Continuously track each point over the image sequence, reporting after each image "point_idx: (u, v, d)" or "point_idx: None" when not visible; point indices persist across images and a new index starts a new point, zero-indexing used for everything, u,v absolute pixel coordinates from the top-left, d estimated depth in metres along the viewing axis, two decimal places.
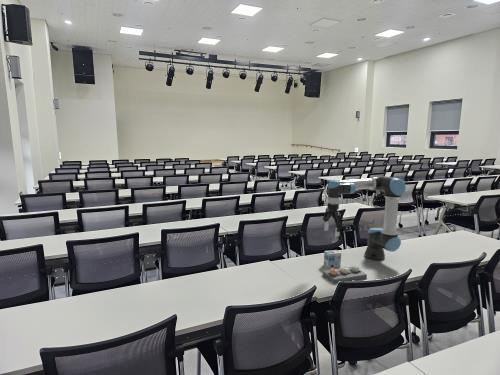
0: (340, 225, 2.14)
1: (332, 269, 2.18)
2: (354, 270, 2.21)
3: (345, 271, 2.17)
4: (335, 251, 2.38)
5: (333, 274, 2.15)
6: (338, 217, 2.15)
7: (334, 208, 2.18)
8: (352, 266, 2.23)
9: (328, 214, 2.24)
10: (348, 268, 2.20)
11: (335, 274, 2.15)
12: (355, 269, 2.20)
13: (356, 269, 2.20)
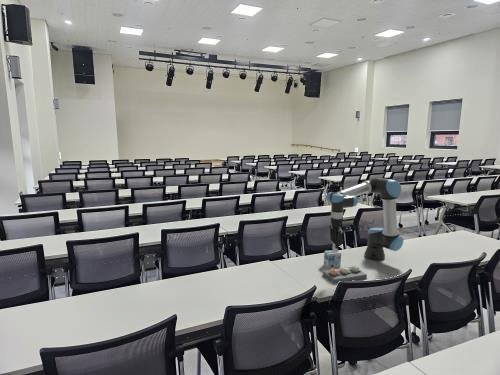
0: (338, 242, 2.10)
1: (332, 269, 2.18)
2: (354, 270, 2.21)
3: (345, 271, 2.17)
4: None
5: (333, 274, 2.15)
6: (340, 235, 2.08)
7: (338, 223, 2.08)
8: (352, 266, 2.23)
9: (333, 230, 2.13)
10: (348, 268, 2.20)
11: (335, 274, 2.15)
12: (355, 269, 2.20)
13: (356, 269, 2.20)
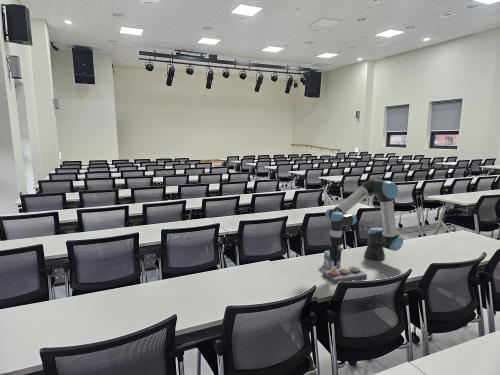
0: (337, 260, 2.12)
1: None
2: (354, 270, 2.21)
3: (345, 271, 2.17)
4: None
5: (333, 274, 2.15)
6: (338, 253, 2.10)
7: (337, 241, 2.10)
8: (352, 266, 2.23)
9: (332, 248, 2.15)
10: (348, 268, 2.20)
11: (335, 274, 2.15)
12: (355, 269, 2.20)
13: (356, 269, 2.20)
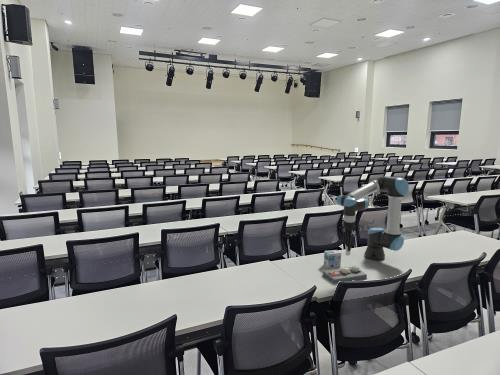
0: (351, 245, 2.14)
1: (332, 272, 2.18)
2: (354, 270, 2.21)
3: (345, 271, 2.17)
4: (335, 251, 2.38)
5: None
6: (352, 238, 2.12)
7: (350, 226, 2.12)
8: (352, 266, 2.23)
9: (345, 233, 2.17)
10: (348, 268, 2.20)
11: None
12: (355, 269, 2.20)
13: (356, 269, 2.20)
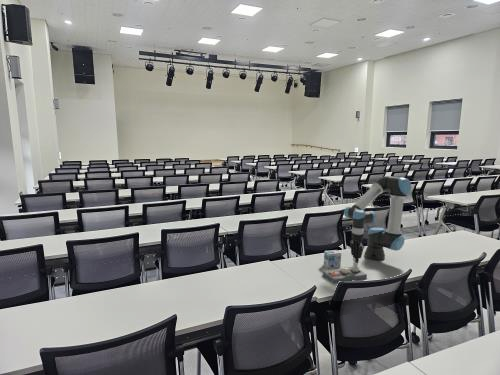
0: (359, 257, 2.17)
1: (332, 272, 2.18)
2: (354, 270, 2.21)
3: (345, 271, 2.17)
4: (335, 251, 2.38)
5: None
6: (360, 250, 2.15)
7: (359, 239, 2.15)
8: (352, 266, 2.23)
9: (353, 245, 2.20)
10: (348, 268, 2.20)
11: None
12: (355, 269, 2.20)
13: (356, 269, 2.20)
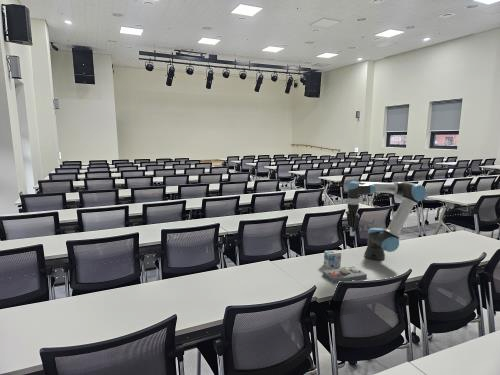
0: (355, 226, 2.30)
1: (332, 272, 2.18)
2: None
3: (345, 271, 2.17)
4: (335, 251, 2.38)
5: None
6: (357, 219, 2.28)
7: (355, 208, 2.27)
8: (352, 269, 2.23)
9: (350, 215, 2.32)
10: (348, 268, 2.20)
11: None
12: (355, 272, 2.21)
13: (356, 272, 2.20)
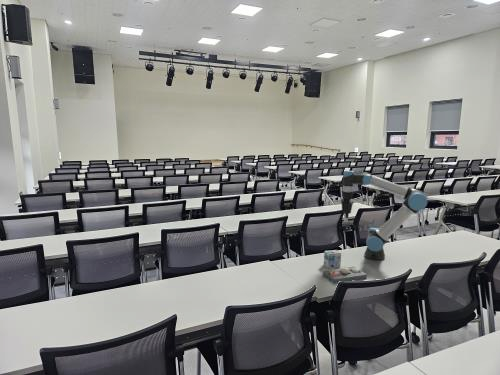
0: (349, 212, 2.44)
1: (332, 272, 2.18)
2: None
3: (345, 271, 2.17)
4: (335, 251, 2.38)
5: None
6: (350, 206, 2.42)
7: (348, 195, 2.42)
8: (352, 269, 2.23)
9: (344, 202, 2.47)
10: (348, 268, 2.20)
11: None
12: (355, 272, 2.21)
13: (356, 272, 2.20)
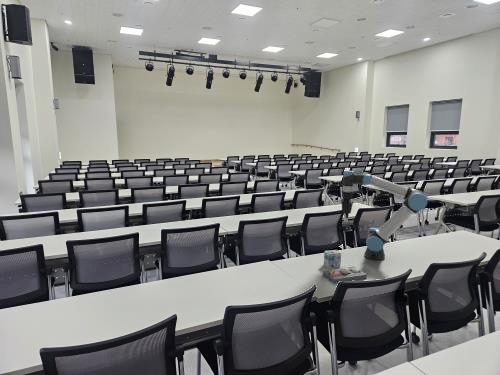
0: (349, 212, 2.44)
1: (332, 272, 2.18)
2: None
3: (345, 271, 2.17)
4: (335, 251, 2.38)
5: None
6: (350, 206, 2.42)
7: (348, 195, 2.42)
8: (352, 269, 2.23)
9: (344, 202, 2.47)
10: (348, 268, 2.20)
11: None
12: (355, 272, 2.21)
13: (356, 272, 2.20)
